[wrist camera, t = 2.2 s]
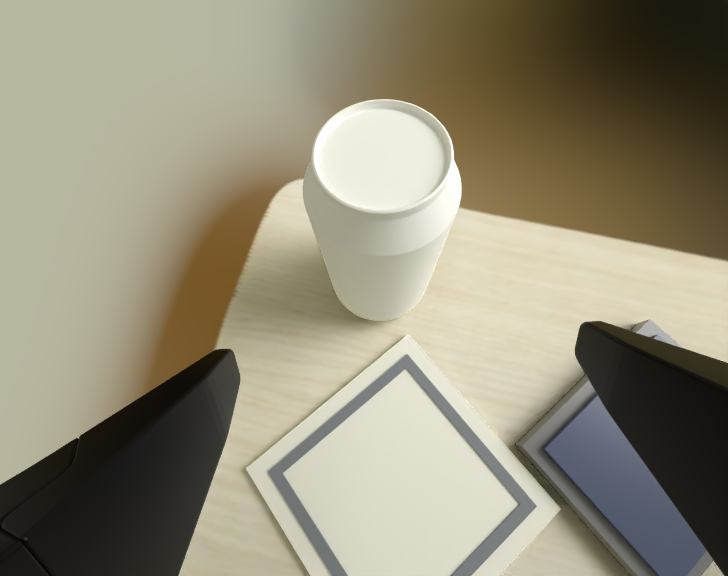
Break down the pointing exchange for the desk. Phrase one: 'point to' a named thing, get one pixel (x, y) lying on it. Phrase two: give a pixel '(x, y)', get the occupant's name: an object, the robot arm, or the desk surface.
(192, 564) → the desk surface
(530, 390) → the desk surface
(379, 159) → the beverage can
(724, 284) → the desk surface
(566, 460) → the ink pad
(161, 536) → the robot arm
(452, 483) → the print card
